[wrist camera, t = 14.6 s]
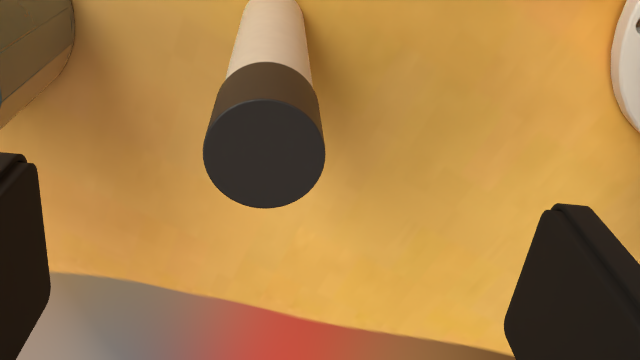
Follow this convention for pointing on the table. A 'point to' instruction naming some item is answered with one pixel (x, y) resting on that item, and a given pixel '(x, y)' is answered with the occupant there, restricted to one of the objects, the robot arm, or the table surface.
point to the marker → (266, 112)
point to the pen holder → (31, 49)
